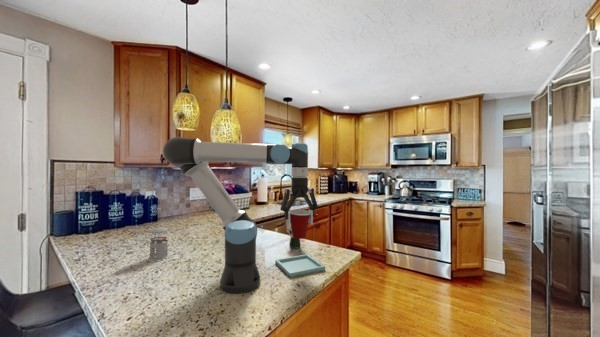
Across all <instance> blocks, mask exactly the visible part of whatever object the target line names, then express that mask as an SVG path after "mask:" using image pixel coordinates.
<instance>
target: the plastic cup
mask: <svg viewBox="0 0 600 337" xmlns="http://www.w3.org/2000/svg"><path fill="white" fill-rule="evenodd" d="M289 212H290V224H291V229H292V235H293V238H296V239H302V240H303V239H305V238H306V236H307V231H308V228H309V227H308V226H309V217H310V215H311V212H310V211H309V210H305V209H296V208H295V209H290V210H289Z"/></svg>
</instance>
